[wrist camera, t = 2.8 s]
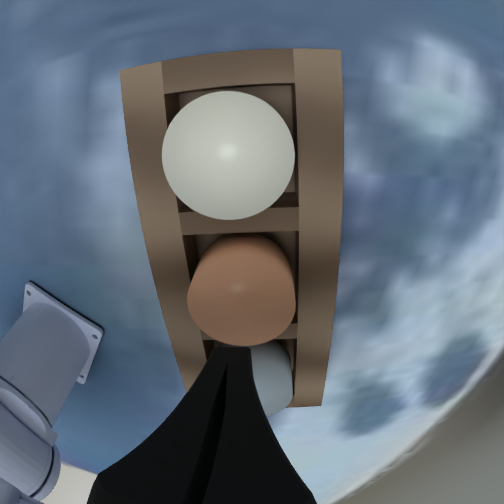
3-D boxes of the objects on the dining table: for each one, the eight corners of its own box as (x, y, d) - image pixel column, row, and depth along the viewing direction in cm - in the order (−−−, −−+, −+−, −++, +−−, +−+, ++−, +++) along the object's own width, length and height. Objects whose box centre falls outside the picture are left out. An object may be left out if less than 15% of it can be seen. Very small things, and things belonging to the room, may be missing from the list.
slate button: (290, 385, 22) (291, 416, 19) (219, 386, 22) (214, 416, 20) (291, 334, 19) (294, 367, 17) (209, 335, 20) (201, 367, 17)
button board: (317, 377, 24) (321, 405, 22) (197, 378, 25) (191, 405, 22) (328, 57, 14) (340, 50, 11) (142, 73, 15) (119, 70, 12)
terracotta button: (291, 312, 18) (294, 344, 16) (204, 313, 19) (196, 345, 16) (292, 230, 16) (296, 256, 14) (191, 234, 16) (178, 260, 14)
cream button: (291, 196, 15) (295, 217, 13) (186, 201, 16) (171, 223, 13) (287, 89, 13) (291, 87, 10) (175, 99, 13) (154, 100, 11)
